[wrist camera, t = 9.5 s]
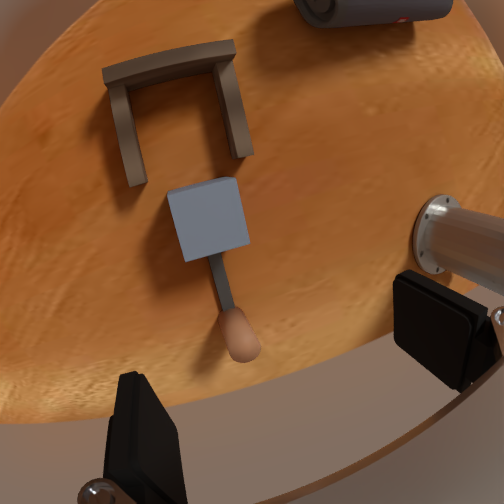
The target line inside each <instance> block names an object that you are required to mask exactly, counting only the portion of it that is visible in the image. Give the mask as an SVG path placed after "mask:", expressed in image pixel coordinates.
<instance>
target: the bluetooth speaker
mask: <svg viewBox="0 0 504 504" xmlns="http://www.w3.org/2000/svg"><path fill="white" fill-rule="evenodd" d="M293 1H294V2H295V4H296V6H297V8H298V10H299V11H300V13H301V15H302V16H303V18H304V19H305V21H307V22H308V23H309V24H310V25H312V26H314V27H317V28H338V27H349V26H361V25H374V24H387V23H401V22H413V21H424V20H434V19H439V18H443V17H445V16H446V15H447V14H448V13H449V12H450V10H451V8H452V5H453V0H293Z"/></svg>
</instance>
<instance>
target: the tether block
mask: <svg viewBox="0 0 504 504" xmlns="http://www.w3.org/2000/svg"><path fill="white" fill-rule="evenodd" d="M167 197H168V201H169V205H170V209H171V213H172V216H173V220H174V224H175V228H176V231H177V235H178V238H179V242H180V245H181V249H182V252H183V256H184V259H185V262H188V261H191V260H194V259H198V258H201V257H205V256H208V259H209V263H210V267H211V270H212V274H213V277H214V281H215V285H216V288H217V292H218V295H219V299H220V302H221V306H222V309H223V310H222V311H221V312H220V314H219V316H218V323H219V325H220V328H221V331H222V334H223V337H224V340H225V343H226V345H227V348H228V351H229V354H230V356H231V358H232V359H233V360H234V361H236V362H240V363H246V362H250V361H252V360H254V359H255V358H256V357H257V356H258V355H259V353H260V350H261V344H260V342H259V340H258V338H257V337H256V335H255V333H254V331H253V329H252V327H251V326H250V324H249V322H248V320H247V318H246V316H245V314H244V313H243V311H242V310H241V309H240V308H238V307H236V306H234V302H233V298H232V295H231V291H230V287H229V283H228V279H227V276H226V272H225V268H224V264H223V260H222V256H221V252H223V251H226V250H230V249H233V248H237V247H240V246H244V245H247V244H250V240H249V235H248V231H247V226H246V222H245V217H244V213H243V208H242V204H241V199H240V195H239V190H238V186H237V181H236V178H233V177H220V178H216V179H212V180H208V181H204V182H200V183H197V184H193V185H189V186H185V187H181V188H178V189H174V190H170V191H168V194H167Z"/></svg>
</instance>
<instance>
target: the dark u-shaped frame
mask: <svg viewBox="0 0 504 504" xmlns="http://www.w3.org/2000/svg"><path fill="white" fill-rule="evenodd" d="M235 55H236V49H235V45H234V41H233V39H231V40H223V41H215V42H209V43H202V44H197V45H191V46H186V47H181V48H176V49H171V50H166V51H162V52H158V53H154V54H150V55H146V56H142V57H138V58H135V59H131V60H128V61H124V62H121V63H118V64H115V65H111V66H108V67H105V68H102V74H103V80H104V84H105V86H106V87H107V88H108V91H109V97H110V102H111V108H112V113H113V118H114V123H115V128H116V133H117V137H118V142H119V146H120V151H121V155H122V159H123V164H124V168H125V172H126V176H127V180H128V184H129V187H133V186H136V185H139V184H142V183H146V182H148V179H147V175H146V171H145V167H144V163H143V159H142V155H141V150H140V146H139V142H138V137H137V133H136V128H135V123H134V118H133V114H132V109H131V104H130V98H129V93H128V92H129V91H132V90H136V89H139V88H143V87H146V86H150V85H154V84H158V83H162V82H166V81H170V80H174V79H178V78H183V77H188V76H193V75H198V74H203V73H208V72H212V73H213V78H214V82H215V86H216V91H217V95H218V99H219V104H220V108H221V112H222V117H223V121H224V126H225V130H226V134H227V139H228V143H229V147H230V152H231V156H232V159H236V158H241V157H246V156H250V155H254V151H253V147H252V142H251V138H250V134H249V129H248V125H247V120H246V116H245V112H244V108H243V103H242V99H241V95H240V90H239V86H238V82H237V78H236V74H235V70H234V65H233V61H232V60H233V58H234V57H235Z"/></svg>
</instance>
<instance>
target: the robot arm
mask: <svg viewBox="0 0 504 504" xmlns="http://www.w3.org/2000/svg"><path fill="white" fill-rule="evenodd" d="M413 251H414V256H415V259H416V262H417V264H418V265H419V267H420V268H421V269H422V270H424V271H425V272H427V273H430V274H440V273H442V272H444V271H445V270H448V271H450V272H452V273H454V274H457V275H459V276H461V277H463V278H466V279H468V280H470V281H472V282H475V283H477V284H479V285H481V286H483V287H485V288H488V289H490V290H492V291H494V292H496V293H498V294H500V295H502V296H504V219H503V218H500V217H496V216H492V215H488V214H484V213H480V212H475V211H471V210H467V209H462V208H461V206H460V204H459V203H458V201H457V200H456V199H455V198H453V197H452V196H449V195H443V194H440V195H436V196H434V197H432V198H431V199H430V200H429V201H428V202H427V203H426V204H425V205H424V207H423V208H422V210H421V212H420V214H419V216H418V219H417V221H416V225H415V229H414V235H413ZM393 305H394V341H395V343H396V344H397V345H398V346H399V347H400V348H401V349H403V350H404V351H405V352H406V353H408V354H409V355H410V356H411V357H413V358H414V359H415V360H416V361H418V362H419V363H420V364H421V365H423V366H424V367H425V368H426V369H427V370H429V371H430V372H431V373H432V374H434V375H435V376H436V377H437V378H438V379H440V380H441V381H442V382H443V383H444V384H446V385H447V386H449V388H451V389H456V390H457V391H458V392H459V393H461V394H460V395H458V396H457V397H456V398H455V399H453V400H452V401H451V402H450V403H448V404H447V405H446V406H444V407H443V408H442V409H440V410H439V411H438V412H436V413H435V414H434V415H432V416H431V417H429V418H428V419H427V420H425V421H424V422H422V423H421V424H419V425H418V426H416V427H415V428H413V429H412V430H410V431H409V432H407V433H406V434H404V435H403V436H401V437H400V438H398V439H396V440H395V441H393V442H391V443H390V444H388V445H386V446H385V447H383V448H381V449H380V450H378V451H376V452H374V453H372V454H371V455H369V456H367V457H365V458H363V459H361V460H359V461H358V462H356V463H354V464H352V465H350V466H348V467H346V468H344V469H342V470H340V471H337V472H335V473H333V474H331V475H329V476H327V477H324V478H322V479H320V480H318V481H315V482H313V483H311V484H308V485H306V486H303V487H301V488H298V489H296V490H293V491H290V492H288V493H285V494H282V495H279V496H277V497H274V498H271V499H268V500H265V501H261V502H259V503H255V504H504V306H501V307H498V308H496V309H494V310H493V312H492V313H491V316H490V317H488V316H487V312H488V308H487V307H485V306H483V305H481V304H479V303H477V302H475V301H473V300H471V299H469V298H467V297H465V296H463V295H461V294H459V293H457V292H455V291H453V290H451V289H449V288H447V287H445V286H443V285H441V284H439V283H437V282H435V281H433V280H431V279H429V278H427V277H425V276H423V275H421V274H419V273H416V272H414V271H412V270H406V271H404V272H402V273H400V274H398V275H396V277H395V280H394V281H393ZM471 382H472V383H473V384H472V385H471ZM77 502H78V504H188V502H187V497H186V490H185V484H184V477H183V470H182V463H181V455H180V448H179V439H178V432H177V429H176V426H175V424H174V423H173V421H172V419H171V418H170V417H169V415H168V413H167V412H166V410H165V409H164V407H163V405H162V404H161V402H160V401H159V399H158V397H157V396H156V394H155V392H154V391H153V389H152V387H151V386H150V384H149V382H148V380H147V379H146V377H145V375H144V374H138V372H137V371H132V372H129V373H125V374H121V375H120V376H119V381H118V388H117V394H116V401H115V408H114V415H112V416H111V417H110V420H109V425H108V433H107V441H106V450H105V460H104V471H103V478H97V479H93V480H91V481H89V482H87V483H86V484H85V485H84V486H83V487H82V488H81V490H80V492H79V493H78V498H77Z"/></svg>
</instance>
